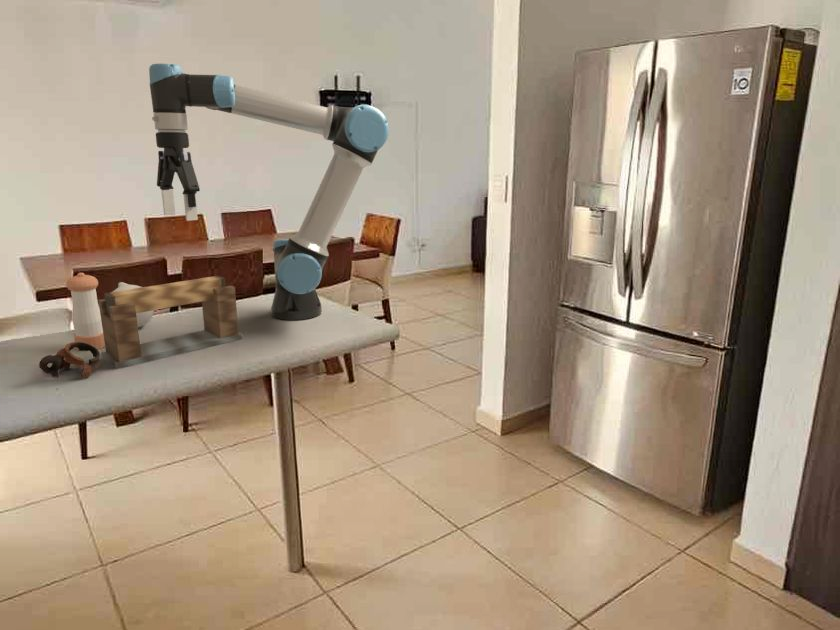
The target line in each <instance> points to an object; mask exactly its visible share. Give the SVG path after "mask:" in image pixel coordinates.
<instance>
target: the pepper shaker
mask: <svg viewBox="0 0 840 630" xmlns="http://www.w3.org/2000/svg"><path fill="white" fill-rule="evenodd" d="M65 286H66V288H67V289H68V291H70V293H71V301H72V322H73V323H72V324H73V329H74V335H73V338H74V339H73V340H74V342H82V343H86V344H89V345H91V346H93V347H95V348H96V349H97V350H99V349H102V348H105V342H104V335H103V328H102V322H101V315H100V308H99V302H98V295H97V291H96V289H97V288H98V286H99V280H98V279H97V278H96V277H95V276H92V275H90V274H85V273H84V272H78V273H77V275H74V276H72V277H70V278H68V279H67V281H66V283H65ZM75 349H76V350H78V351H79V349H78V348H77V347H75Z"/></svg>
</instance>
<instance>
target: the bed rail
mask: <svg viewBox="0 0 840 630" xmlns="http://www.w3.org/2000/svg"><path fill="white" fill-rule="evenodd" d="M220 287H226V279H225V277H222V276H219V275H214V276H207V277H202V278H201V277H200V278H195V279H188V280H183V281H182V280H181V281H175V282H169V283H163V284H157V285H150V286H144V287H143V286H142V288H136V289H130V290H124V291H117V292H113V291H111V292H105V293H104V299H105V301H106V308H107V314H108V315H110V310H109V306H115V305H121V304H127V303H133V304H135V309H136V313H141V312H147V311H152V310H158V311H159V310H162V309H167V308H172V307H179V306H183V305H189V304H195V303H202V301H207V300H212V299H214V295H213V289H214V288H220Z"/></svg>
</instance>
